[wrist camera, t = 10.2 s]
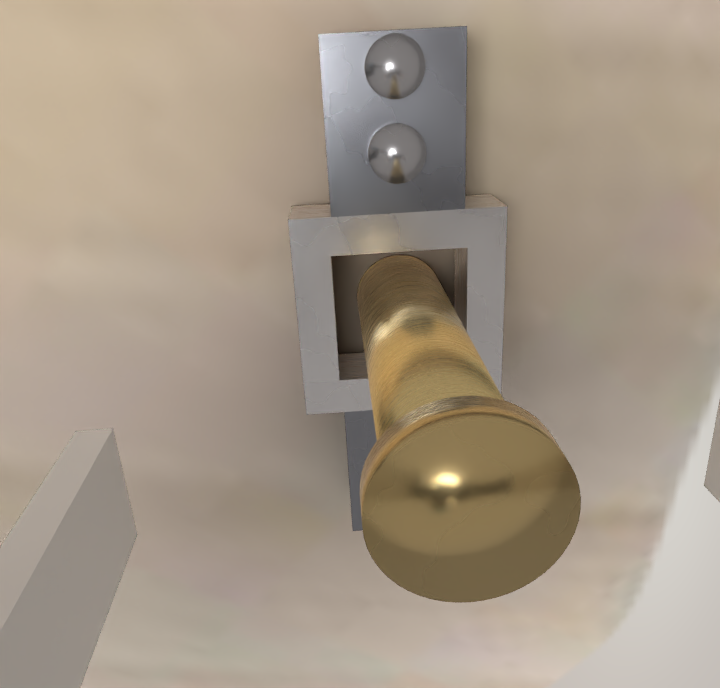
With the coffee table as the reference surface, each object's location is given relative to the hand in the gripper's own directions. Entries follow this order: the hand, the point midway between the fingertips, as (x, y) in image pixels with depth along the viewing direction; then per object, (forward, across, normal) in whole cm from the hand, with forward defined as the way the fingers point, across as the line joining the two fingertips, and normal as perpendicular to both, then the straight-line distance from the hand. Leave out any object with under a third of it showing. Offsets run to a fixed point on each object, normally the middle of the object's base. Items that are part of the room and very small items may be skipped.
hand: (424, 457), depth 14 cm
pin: (+12, +1, 0) cm, 12 cm away
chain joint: (+12, +1, 0) cm, 12 cm away
